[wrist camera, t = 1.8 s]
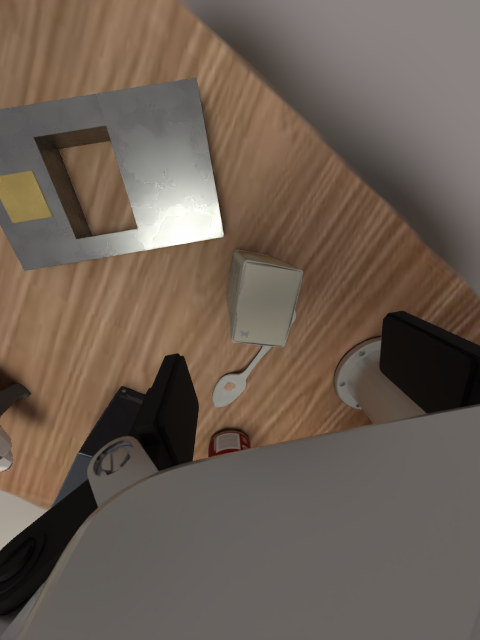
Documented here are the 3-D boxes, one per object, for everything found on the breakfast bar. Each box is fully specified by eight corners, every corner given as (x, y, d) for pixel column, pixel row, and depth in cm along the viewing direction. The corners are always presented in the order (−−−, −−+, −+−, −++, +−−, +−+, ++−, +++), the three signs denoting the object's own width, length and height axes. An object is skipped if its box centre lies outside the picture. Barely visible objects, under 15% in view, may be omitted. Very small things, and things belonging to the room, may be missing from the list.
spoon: (204, 393, 34) (204, 401, 32) (296, 285, 29) (300, 289, 27) (227, 405, 35) (227, 413, 34) (318, 303, 30) (323, 307, 28)
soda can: (211, 426, 36) (207, 514, 25) (252, 427, 37) (266, 513, 26) (207, 455, 38) (202, 547, 27) (246, 456, 39) (256, 546, 28)
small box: (119, 383, 32) (74, 452, 22) (162, 400, 33) (139, 470, 24) (94, 433, 35) (45, 513, 25) (135, 446, 36) (104, 525, 27)
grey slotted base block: (199, 97, 21) (196, 76, 18) (223, 235, 25) (224, 236, 22) (-19, 133, 20) (-58, 117, 17) (46, 266, 25) (23, 271, 22)
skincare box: (259, 303, 29) (285, 352, 17) (225, 298, 28) (229, 346, 17) (270, 251, 26) (307, 269, 15) (233, 245, 26) (244, 259, 15)
